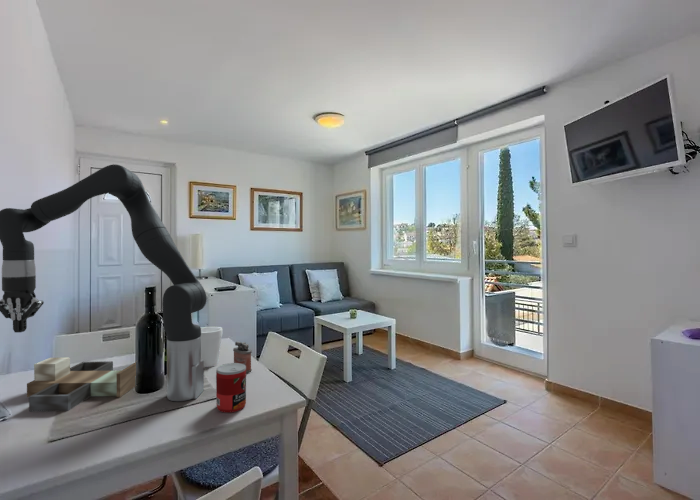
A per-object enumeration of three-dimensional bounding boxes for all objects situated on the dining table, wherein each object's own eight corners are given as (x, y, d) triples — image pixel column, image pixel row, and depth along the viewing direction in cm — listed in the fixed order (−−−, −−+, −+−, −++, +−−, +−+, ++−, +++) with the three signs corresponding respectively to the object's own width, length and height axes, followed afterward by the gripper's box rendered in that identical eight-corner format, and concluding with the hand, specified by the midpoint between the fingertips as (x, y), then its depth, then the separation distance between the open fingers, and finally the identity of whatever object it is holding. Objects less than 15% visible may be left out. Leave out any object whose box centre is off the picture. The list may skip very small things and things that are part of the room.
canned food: (237, 414, 94) (237, 373, 94) (210, 411, 96) (210, 371, 96) (251, 401, 102) (251, 363, 102) (225, 399, 103) (225, 361, 103)
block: (70, 373, 112) (69, 357, 112) (55, 380, 106) (55, 364, 106) (50, 373, 112) (50, 357, 112) (34, 380, 106) (34, 364, 106)
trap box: (154, 372, 124) (154, 352, 124) (102, 410, 96) (102, 384, 96) (74, 373, 123) (73, 353, 123) (-2, 411, 95) (-3, 385, 95)
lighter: (253, 371, 126) (253, 343, 126) (246, 374, 123) (246, 345, 123) (238, 366, 130) (238, 339, 130) (230, 369, 127) (230, 341, 127)
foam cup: (216, 368, 128) (216, 332, 128) (190, 368, 128) (190, 332, 128) (226, 360, 138) (226, 326, 137) (202, 359, 138) (202, 326, 137)
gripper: (51, 274, 112) (52, 328, 112) (7, 273, 111) (8, 329, 112) (31, 276, 104) (32, 335, 105) (-16, 276, 104) (-16, 335, 104)
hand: (19, 331), depth 108 cm, fingers closed
